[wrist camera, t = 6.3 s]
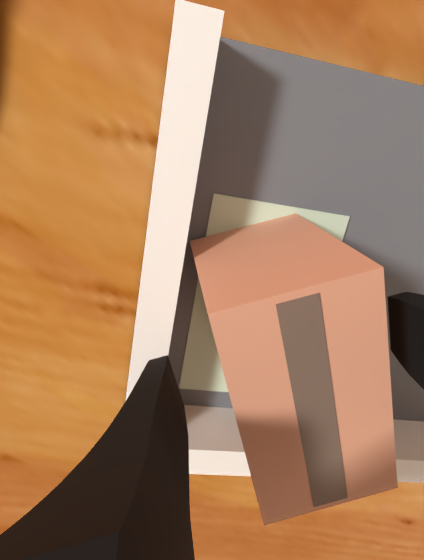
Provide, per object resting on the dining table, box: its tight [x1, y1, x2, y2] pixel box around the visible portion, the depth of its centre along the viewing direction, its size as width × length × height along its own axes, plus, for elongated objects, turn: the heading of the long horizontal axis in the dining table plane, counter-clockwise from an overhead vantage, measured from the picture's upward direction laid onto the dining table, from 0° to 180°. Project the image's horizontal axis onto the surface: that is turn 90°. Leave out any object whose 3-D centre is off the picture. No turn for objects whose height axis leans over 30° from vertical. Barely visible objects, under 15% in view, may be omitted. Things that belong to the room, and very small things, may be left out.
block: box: [190, 213, 398, 525], centre depth 12 cm, size 7×4×6 cm, turn 13°
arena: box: [125, 0, 424, 483], centre depth 15 cm, size 16×15×3 cm
